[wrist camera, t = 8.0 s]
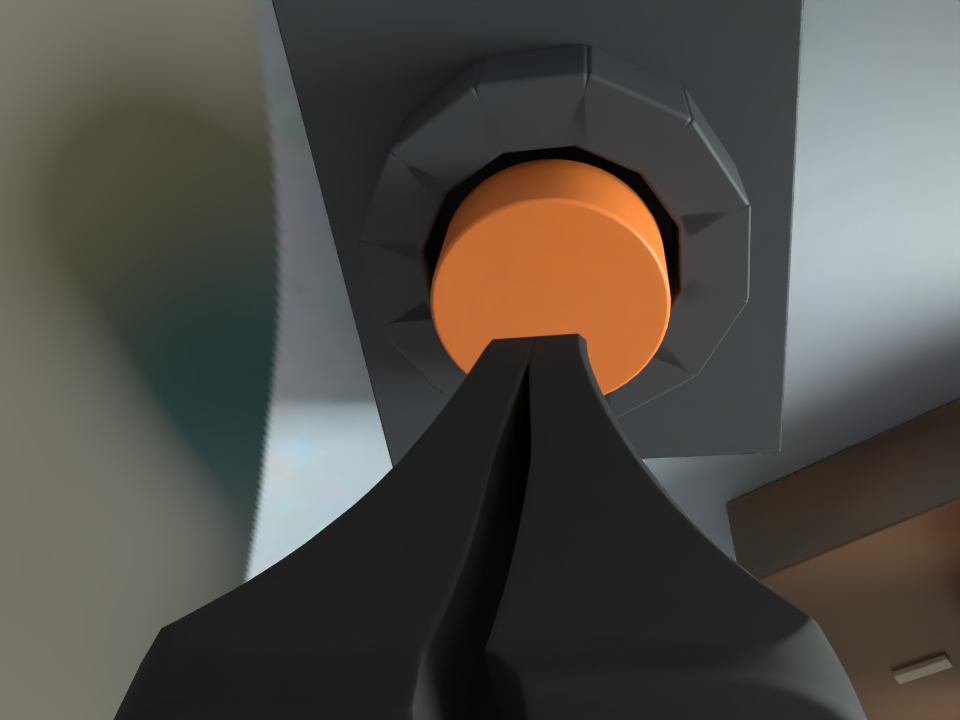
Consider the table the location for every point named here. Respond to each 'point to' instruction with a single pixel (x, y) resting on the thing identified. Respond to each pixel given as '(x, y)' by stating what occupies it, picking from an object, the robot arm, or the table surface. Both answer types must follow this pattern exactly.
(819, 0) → the table surface
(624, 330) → the lid button
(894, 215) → the table surface
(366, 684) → the robot arm
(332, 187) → the push button base
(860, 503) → the dial panel
